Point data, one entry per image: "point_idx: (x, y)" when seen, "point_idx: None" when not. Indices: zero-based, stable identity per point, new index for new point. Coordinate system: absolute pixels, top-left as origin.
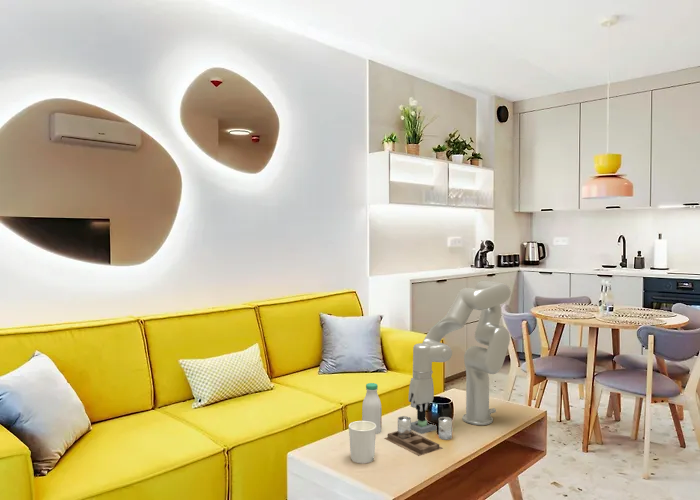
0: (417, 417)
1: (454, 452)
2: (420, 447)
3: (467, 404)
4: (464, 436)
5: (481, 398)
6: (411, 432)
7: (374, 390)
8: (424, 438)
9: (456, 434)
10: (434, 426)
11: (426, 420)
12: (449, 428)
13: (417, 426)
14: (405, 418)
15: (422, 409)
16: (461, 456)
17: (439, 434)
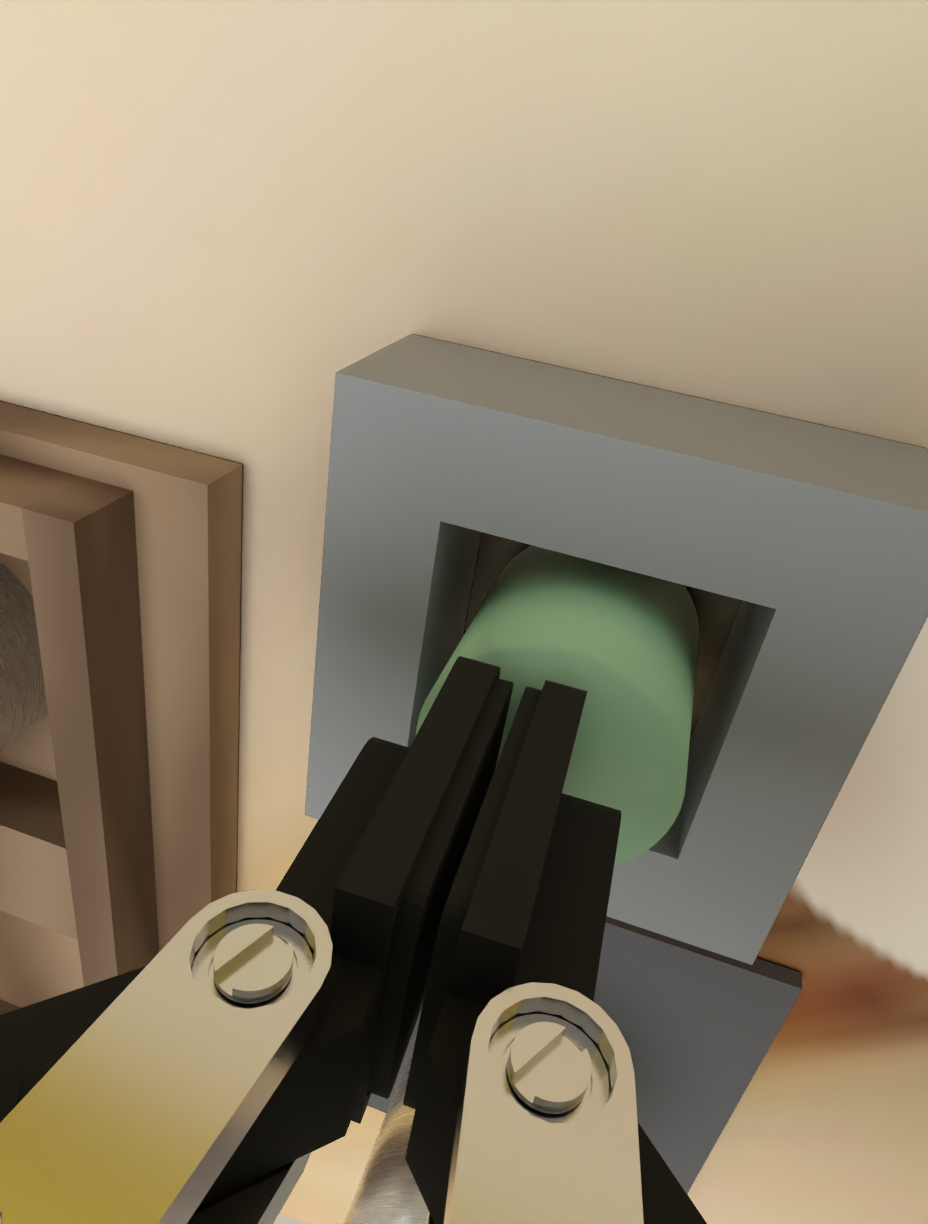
0: (374, 738)
1: (310, 1160)
2: (2, 924)
3: None
4: (884, 1199)
5: None
6: (65, 717)
7: None
8: (94, 965)
9: (895, 1106)
10: (687, 926)
11: (621, 853)
12: None
13: (355, 680)
14: None
15: (292, 1172)
16: (291, 1214)
17: (400, 1080)
